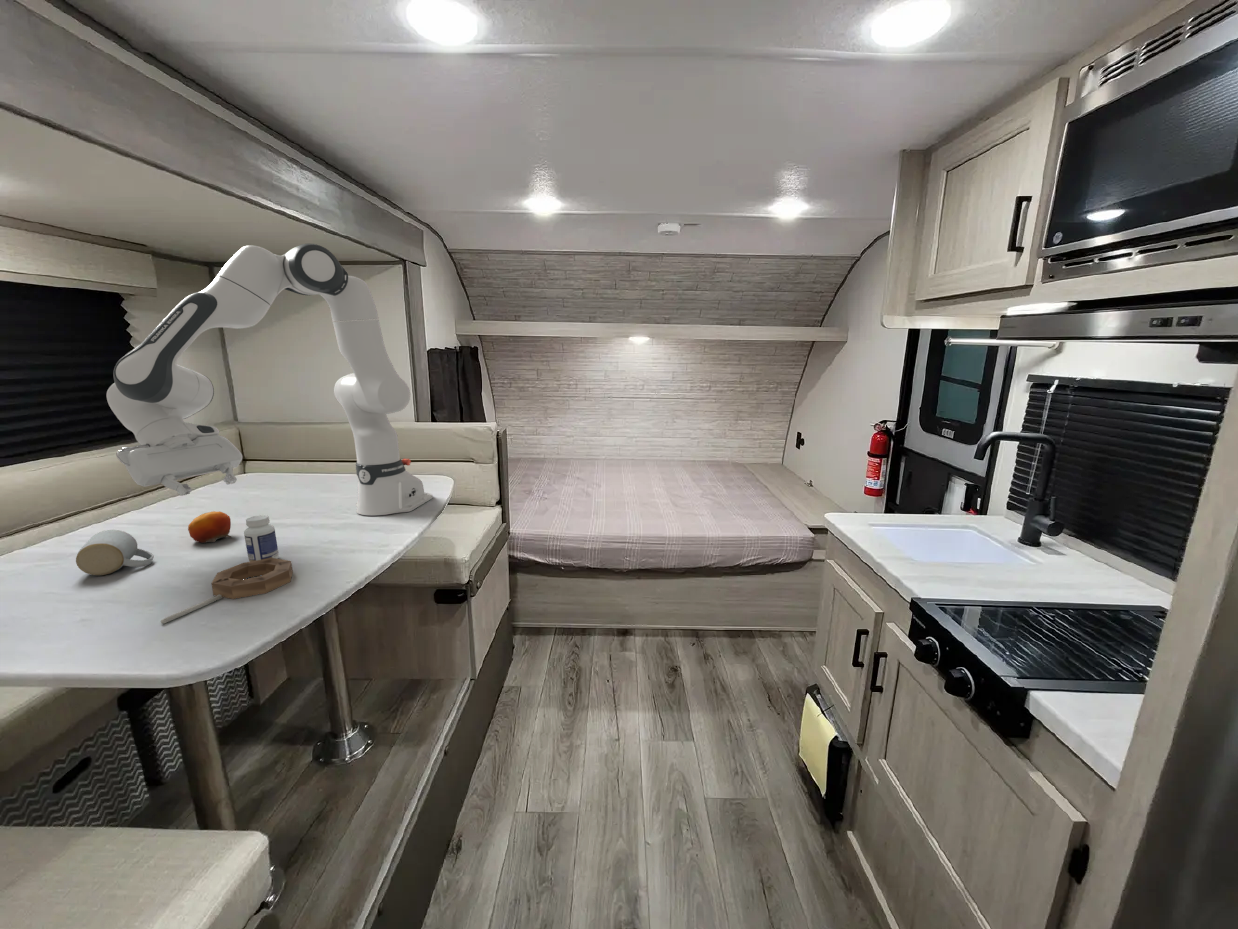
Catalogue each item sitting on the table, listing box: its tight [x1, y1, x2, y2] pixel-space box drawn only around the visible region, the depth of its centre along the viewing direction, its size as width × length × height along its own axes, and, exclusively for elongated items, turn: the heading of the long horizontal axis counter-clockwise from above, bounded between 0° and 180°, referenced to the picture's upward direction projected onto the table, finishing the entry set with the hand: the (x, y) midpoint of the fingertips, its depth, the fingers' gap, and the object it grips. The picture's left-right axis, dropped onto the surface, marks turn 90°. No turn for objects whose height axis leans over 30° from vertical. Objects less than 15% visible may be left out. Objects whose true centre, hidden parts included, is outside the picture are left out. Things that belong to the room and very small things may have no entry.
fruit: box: [187, 510, 232, 544], centre depth 119 cm, size 8×8×8 cm
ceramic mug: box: [75, 529, 155, 576], centre depth 103 cm, size 11×8×8 cm
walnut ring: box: [211, 558, 294, 600], centre depth 96 cm, size 12×12×2 cm
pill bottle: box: [243, 514, 280, 562], centre depth 106 cm, size 5×5×10 cm
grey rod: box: [160, 595, 223, 625], centre depth 86 cm, size 9×1×1 cm, turn 164°
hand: (210, 487), depth 107 cm, fingers open, 8 cm apart
